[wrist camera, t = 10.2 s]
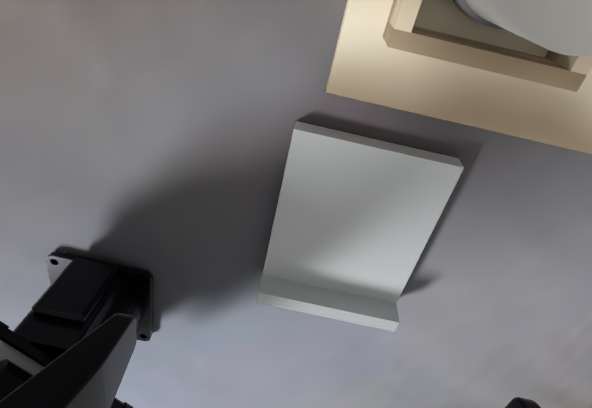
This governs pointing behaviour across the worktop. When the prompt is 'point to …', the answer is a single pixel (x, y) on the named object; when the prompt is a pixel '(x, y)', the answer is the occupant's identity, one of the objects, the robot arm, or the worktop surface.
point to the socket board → (461, 72)
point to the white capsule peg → (539, 21)
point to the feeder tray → (352, 224)
